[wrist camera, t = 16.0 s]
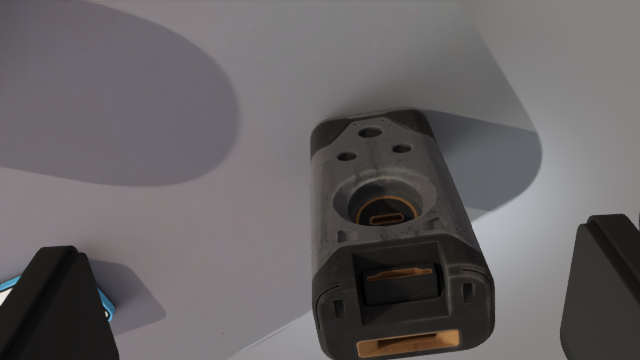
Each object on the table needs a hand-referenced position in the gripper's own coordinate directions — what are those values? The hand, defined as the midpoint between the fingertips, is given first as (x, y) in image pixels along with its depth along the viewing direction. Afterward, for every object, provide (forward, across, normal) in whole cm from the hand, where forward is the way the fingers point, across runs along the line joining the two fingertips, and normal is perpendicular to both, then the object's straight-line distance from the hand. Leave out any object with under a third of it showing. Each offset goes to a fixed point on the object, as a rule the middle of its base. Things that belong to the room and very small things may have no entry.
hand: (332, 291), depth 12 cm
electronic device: (+34, -3, +14) cm, 37 cm away
